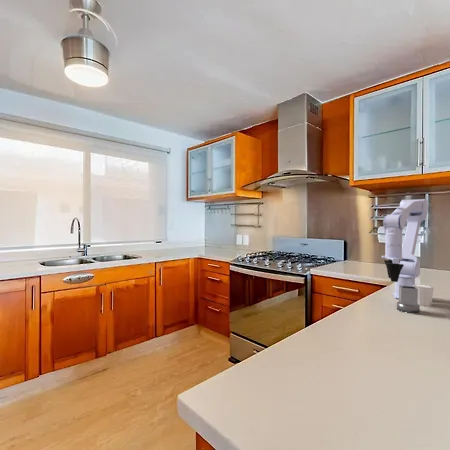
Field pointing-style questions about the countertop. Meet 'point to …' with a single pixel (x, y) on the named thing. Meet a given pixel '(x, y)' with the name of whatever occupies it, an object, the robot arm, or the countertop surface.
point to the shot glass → (424, 294)
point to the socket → (408, 295)
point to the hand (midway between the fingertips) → (392, 279)
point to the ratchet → (408, 308)
